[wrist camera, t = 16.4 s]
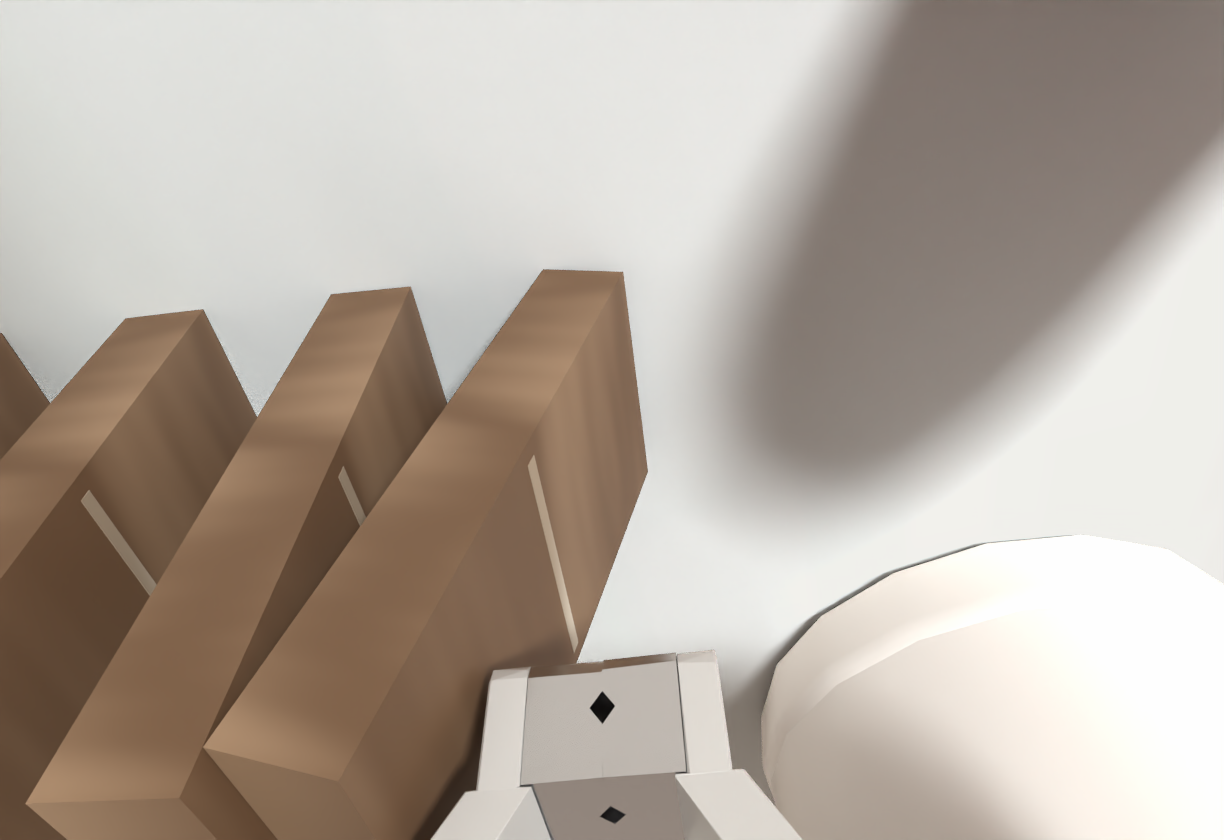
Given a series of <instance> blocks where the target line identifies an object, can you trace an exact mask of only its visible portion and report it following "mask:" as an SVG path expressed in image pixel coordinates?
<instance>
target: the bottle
mask: <svg viewBox="0 0 1224 840" xmlns="http://www.w3.org/2000/svg"><path fill="white" fill-rule="evenodd" d="M761 738H762V766H763V771H764V773H765V776H766V779H767V782H768V785H769V788H770V790H771V793H772V796H773V799H774V802H775V807H776V808H777V809H778V810H779V812H780V813H781V814H782V815H783V816H784V818H785V819H786V820H787V821H788V822H789V824H790V825H791V826H792V827H793V828H794V830H795V831H796V832H797V833H798V835H799V836H800V837H801V838H802V839H803V840H1224V584H1223V583H1221V582H1220V581H1218V580H1216V579H1215V578H1213V577H1212V576H1210V575H1208V574H1207V573H1205V572H1204V571H1202V570H1200V569H1199V568H1197V567H1196V566H1194V565H1192V564H1191V563H1189V562H1188V561H1186V560H1184V559H1183V558H1181V557H1179V556H1178V555H1176V554H1175V553H1173V552H1171V551H1169V550H1167V549H1165V548H1160V547H1154V546H1148V545H1142V544H1136V543H1130V542H1124V541H1118V540H1112V539H1106V538H1100V537H1094V536H1088V535H1073V536H1062V537H1051V538H1040V539H1029V540H1018V541H1007V542H997V543H986V544H983V545H980V546H977V547H974V548H970V549H967V550H964V551H961V552H958V553H955V554H951V555H948V556H945V557H942V558H939V559H936V560H933V561H929V562H926V563H923V564H920V565H917V566H914V567H911V568H907V569H904V570H901V571H898V572H895V573H893V574H891V575H889V576H888V577H886V578H884V579H883V580H881V581H879V582H878V583H876V584H874V585H872V586H871V587H869V588H867V589H866V590H864V591H862V592H861V593H859V594H857V595H856V596H854V597H852V598H851V599H849V600H847V601H846V602H844V603H842V604H841V605H839V606H837V607H835V608H834V609H832V610H830V611H829V612H827V613H825V614H824V615H822V616H821V617H820V618H819V619H818V620H817V621H816V622H815V623H814V624H813V625H812V627H811V628H810V629H809V630H808V631H807V632H806V633H805V634H804V635H803V636H802V637H801V639H800V640H799V641H798V642H797V643H796V644H795V645H794V646H793V647H792V648H791V649H790V651H789V652H788V653H787V654H786V655H785V656H784V657H783V658H782V659H781V660H780V661H779V663H778V664H777V665H776V669H775V672H774V675H773V679H772V682H771V686H770V689H769V692H768V696H767V699H766V702H765V706H764V709H763V712H762V716H761Z"/></svg>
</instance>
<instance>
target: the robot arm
mask: <svg viewBox="0 0 1224 840" xmlns="http://www.w3.org/2000/svg"><path fill="white" fill-rule="evenodd" d="M677 662H678V664H677ZM430 840H803V839H802V838H801V837H800V836H799V835H798V833H797V832H796V831H795V830H794V828H793V827H792V826H791V825H790V824H789V822H788V821H787V820H786V819H785V818H784V816H783V815H782V814H781V813H780V812H779V810H778V809H777V808H776V807H775V806H774V804H773V803H772V802H771V801H770V799H769V798H768V797H767V796H766V795H765V793H764V792H763V791H762V790H761V789H760V787H759V786H758V785H757V784H756V783H755V781H754V780H753V779H752V778H751V776H750V775H749V774H748V773H747V772H746V770H745V769H733V768H732V761H731V754H730V747H729V740H728V733H727V726H726V719H725V712H724V704H723V697H722V690H721V683H720V676H719V669H718V662H717V657H716V654H715V651H714V650H707V651H698V652H689V653H680V654H677V656H676V653H668V654H659V655H649V656H640V657H631V658H622V659H612V660H604V661H603V662H590V663H578V664H565V665H553V666H540V667H523V668H512V669H502V670H494V671H493V673H492V676H491V679H490V681H489V686H488V695H487V703H486V711H485V720H484V728H483V736H482V745H481V753H480V761H479V770H478V778H477V786H476V790H473V791H465V792H464V794H463V795H462V796H461V798H460V799H459V801H458V802H457V803H456V805H455V806H454V807H453V809H452V810H451V812H450V813H449V814H448V816H447V817H446V818H445V820H444V821H443V823H442V824H441V825H440V827H439V828H438V829H437V831H436V832H435V834H434V835H433V836H432V838H431V839H430Z"/></svg>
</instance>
